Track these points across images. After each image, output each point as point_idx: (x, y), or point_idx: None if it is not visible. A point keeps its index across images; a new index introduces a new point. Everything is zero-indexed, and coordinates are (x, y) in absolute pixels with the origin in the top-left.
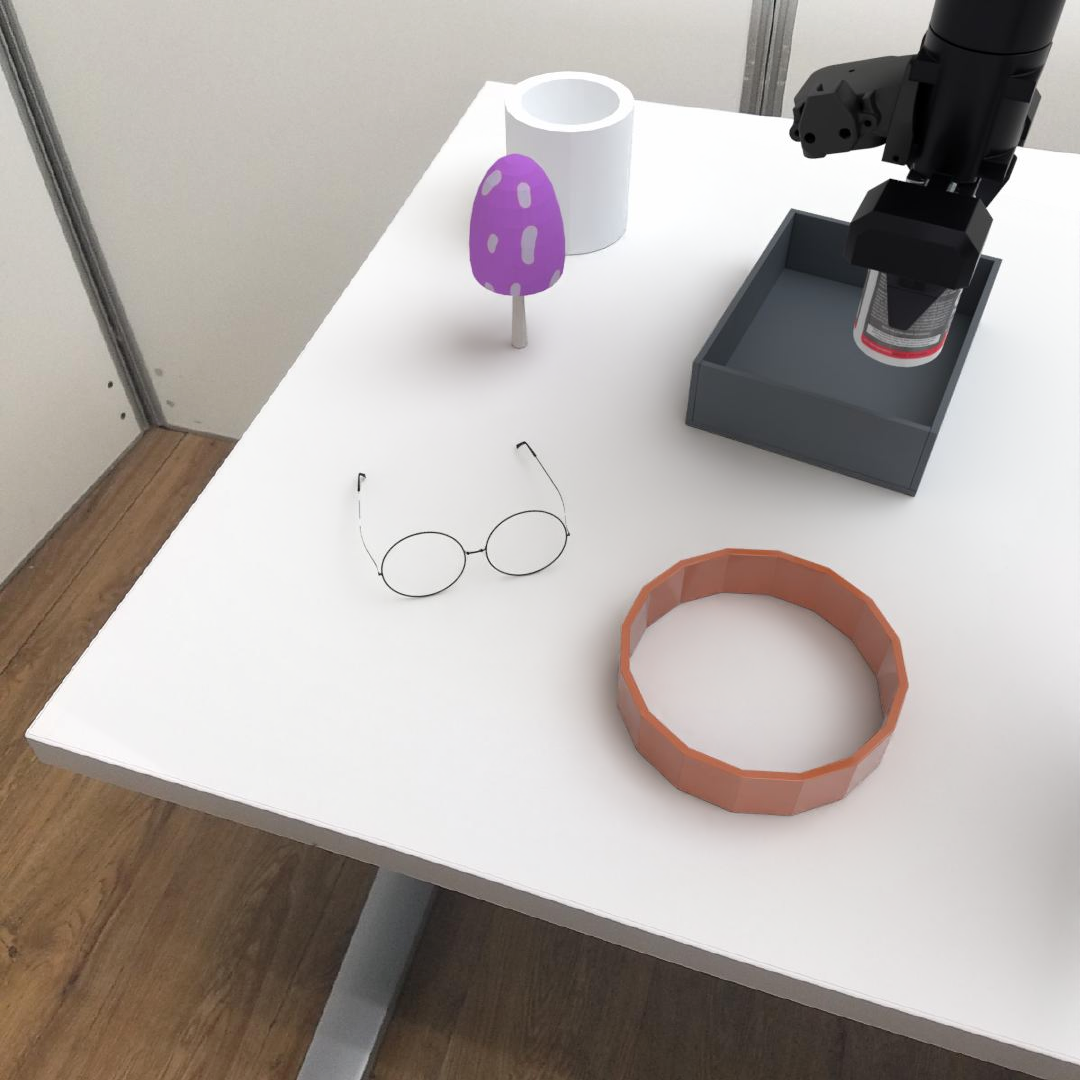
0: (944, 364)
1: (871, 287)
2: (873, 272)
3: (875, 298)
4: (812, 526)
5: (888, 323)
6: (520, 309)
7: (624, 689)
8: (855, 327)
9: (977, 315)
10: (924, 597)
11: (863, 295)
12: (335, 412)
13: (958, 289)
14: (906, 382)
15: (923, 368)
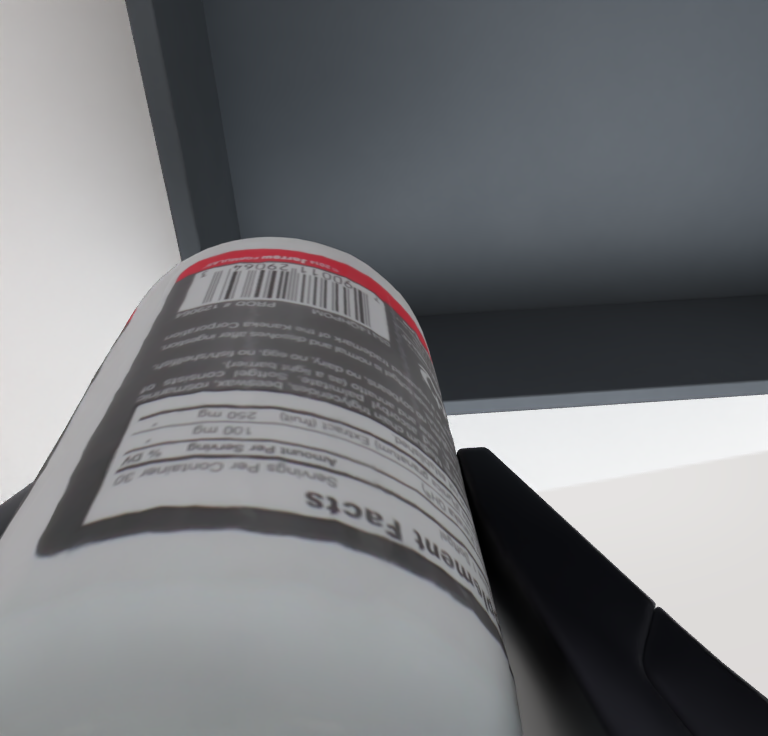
0: (661, 279)
1: (69, 432)
2: (51, 476)
3: (55, 445)
4: (32, 187)
5: (27, 486)
6: None
7: None
8: (186, 269)
9: (712, 390)
10: (27, 408)
11: (147, 344)
12: None
13: None
14: (570, 226)
15: (633, 244)
